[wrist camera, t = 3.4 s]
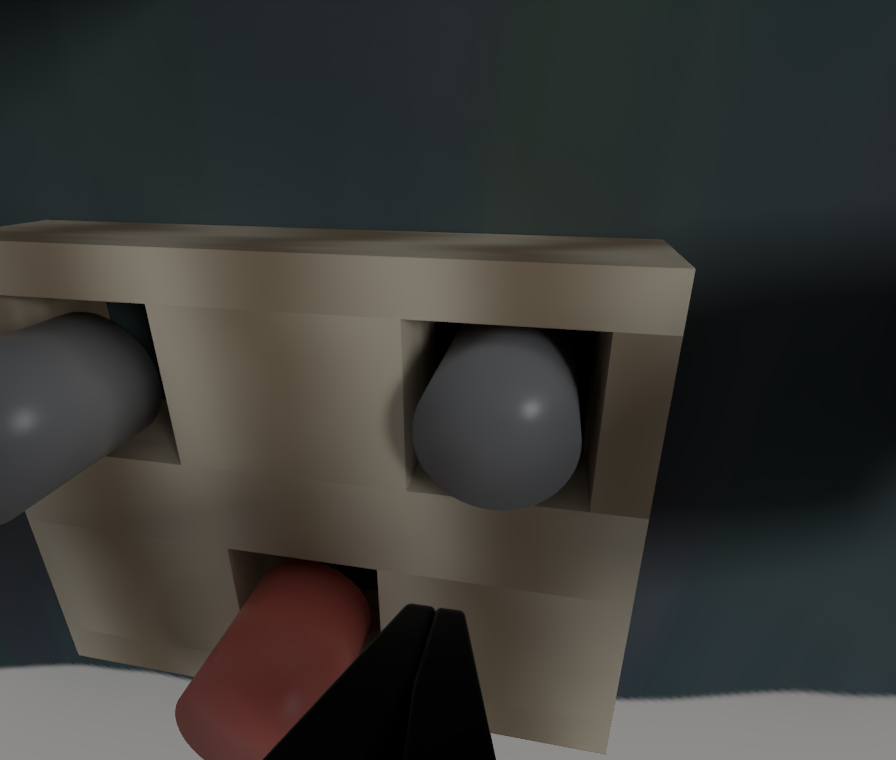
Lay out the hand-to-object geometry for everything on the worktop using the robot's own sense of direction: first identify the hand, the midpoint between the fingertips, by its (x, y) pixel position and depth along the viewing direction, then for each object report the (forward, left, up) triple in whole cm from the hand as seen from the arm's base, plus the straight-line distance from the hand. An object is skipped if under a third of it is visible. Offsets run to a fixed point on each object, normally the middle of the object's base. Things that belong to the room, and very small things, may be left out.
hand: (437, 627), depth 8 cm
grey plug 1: (+12, 0, -7) cm, 14 cm away
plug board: (+6, +4, -11) cm, 13 cm away
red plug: (+6, +8, -7) cm, 12 cm away
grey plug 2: (0, 0, -10) cm, 10 cm away
